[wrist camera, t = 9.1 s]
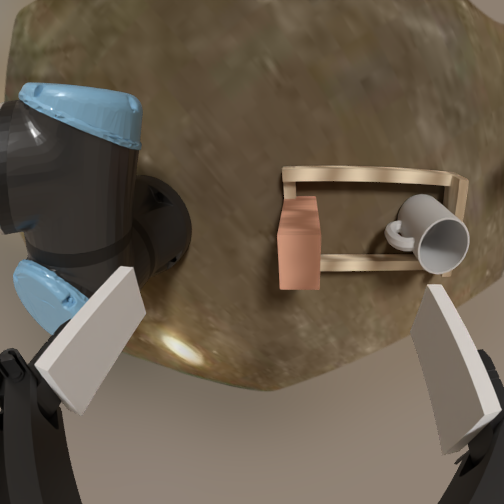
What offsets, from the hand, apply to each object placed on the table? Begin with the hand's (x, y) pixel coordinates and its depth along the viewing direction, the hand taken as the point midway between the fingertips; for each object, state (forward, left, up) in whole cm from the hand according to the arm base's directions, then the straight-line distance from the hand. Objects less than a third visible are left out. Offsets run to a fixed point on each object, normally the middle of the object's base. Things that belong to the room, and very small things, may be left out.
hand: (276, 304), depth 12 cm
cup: (+16, -7, -27) cm, 32 cm away
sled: (+11, -6, -26) cm, 29 cm away
